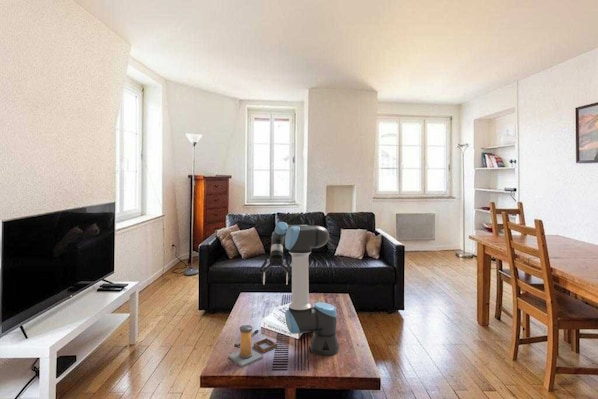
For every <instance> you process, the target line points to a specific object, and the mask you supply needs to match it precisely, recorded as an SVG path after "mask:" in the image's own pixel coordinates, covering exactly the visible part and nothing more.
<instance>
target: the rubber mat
mask: <svg viewBox="0 0 598 399" xmlns="http://www.w3.org/2000/svg"><path fill="white" fill-rule="evenodd" d="M251 352H252V356H251V357H250V358H248V359H242V358H240V356H239V355H240V350H238V351H235V352H233V353H231V354H229V355H228V358H229V359H230V360H232V361H233V362H234V363H236V364H237V365H238V366H240V367H241V368H244V367H247V366H248V365H251V364H253V363H255V362H257V361H260V360H262V359H263V358H264V357H263V355H261V354H260V353H258V352H256V350H254V349H252V348H251Z"/></svg>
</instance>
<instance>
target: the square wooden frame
mask: <svg viewBox="0 0 598 399" xmlns="http://www.w3.org/2000/svg"><path fill="white" fill-rule="evenodd" d="M265 343H268V344H270V346H268V347H263V346H261V345H263V344H265ZM253 347H254V348H255V349H257V350H258V351H260V352H262V353H268V352H270V351H272V350H274V349H277V348H278V343H277V342H275V341H273V340H272V339H269V338H268V337H266V338H263V339H261V340H258V341H255V342H254V343H253Z"/></svg>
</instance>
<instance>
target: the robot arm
mask: <svg viewBox="0 0 598 399" xmlns="http://www.w3.org/2000/svg"><path fill="white" fill-rule="evenodd" d="M271 233H272V234H271V246H270V258H265V259H264V262H263V264H262V265H261V266H260V268H259V269H258V273H259V274H261V279H262V284H263V285H265V282H266V272H268V271H269V270H270V268H272V267H280V268H281V269H282V270H283V271H284V272H285V273H286V275H285V276H286V277H285V278H286V279H285V280H286V284H285V285H288V281H289V280H290V278H291V303H290V304H289V305H288V309H287V310H285V313H284V314H285V315H284V320H285V324H286V327H287V330H288V331H289V333H291V334H292V335H297V334H298V335H300V334H305V333H306V334H307V333H310V332H311V333H313V334H312V337H311V341H310V345H309V348H310V351H311V352H312V353H314V354H316V355H319V356H334V355H336V354H338V352H339V351H340V344H339V341H338V338H337V337H338V336H337V317H338V315H337V308H336V306H334V305H333V304H330V303H327V302H323V301H321V302H315V303H314V305H313V306H312V304H311V303H310V302H309V301H310V300H309V297H310V296H309V295H310V294H309V292H310V291H309V289H310V288H309V273H310V272H309V271H310V270H309V257H310V256H309V255H310V254H312V249H319V248H321V247H323V246H325V245H326V244H328V241H329V239H330V233H329V230H328V229H327V228H325V227H324V226H322V225H321V226H320V225H309V224H288V223H287V222H284V221H279V222H278V223H276V226H275V228H274V231H273V232H271ZM284 246H285V249H286V250H288V253H289V254H290V255H291V265H290V263H289V261H288V258H285V259H283V258H284V257H283V255H284ZM268 263H269V264H268ZM283 263H284V264H285V265H284V264H283ZM290 275H291V277H290Z"/></svg>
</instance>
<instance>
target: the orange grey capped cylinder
mask: <svg viewBox="0 0 598 399" xmlns="http://www.w3.org/2000/svg"><path fill="white" fill-rule="evenodd" d="M252 330H253V326H252V325H249V324H247V325H246V324H244V325H241V326H239V332H240V343H239V344H240V346H239V347H240V348H239V349H240V350H239V351H240V355H239V356H240V358H242V359H248V358H250V357H251V356H252V352H251V349H252V337H251V334H252Z"/></svg>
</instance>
